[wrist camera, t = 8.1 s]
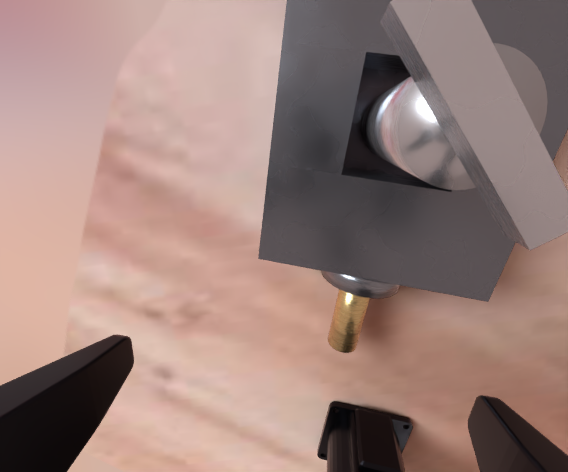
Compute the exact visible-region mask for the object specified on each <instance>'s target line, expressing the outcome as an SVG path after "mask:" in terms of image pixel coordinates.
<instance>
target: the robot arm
mask: <svg viewBox="0 0 568 472" xmlns="http://www.w3.org/2000/svg"><path fill="white" fill-rule="evenodd" d="M133 364H134V356H133V349H132V342H131V339H130V337H128V336H123V335H112V336H110V337H108V338H106V339H103V340H101V341H99V342H97V343H94V344H92V345H90V346H88V347H86V348H83V349H81V350H79V351H77V352H74V353H72V354H70V355H68V356H65V357H63V358H61V359H59V360H57V361H55V362H52V363H50V364H48V365H45V366H43V367H41V368H39V369H36V370H34V371H32V372H30V373H27V374H25V375H23V376H21V377H18V378H16V379H14V380H12V381H10V382H7V383H5V384H3V385H1V386H0V472H67V471H68V469H69V468H70V466H71V465H72V464H73V462H74V461H75V459H76V458H77V456H78V455H79V454H80V452H81V451H82V449H83V448H84V446H85V445H86V444H87V442H88V441H89V439H90V438H91V436H92V435H93V433H94V432H95V430H96V429H97V427H98V426H99V424H100V423H101V421H102V420H103V418H104V416H105V415H106V413H107V411H108V409H109V408H110V406H111V404H112V402H113V401H114V399H115V397H116V396H117V394H118V392H119V390H120V389H121V387H122V385H123V383H124V382H125V380H126V378H127V376H128V375H129V373H130V371H131V369H132V367H133ZM335 408H336V409H335ZM412 428H413V426H412V422H411V420H410V419H408V418H405V417H401V416H396V415H392V414H388V413H383V412H379V411H374V410H370V409H366V408H361V407H357V406H352V405H348V404H344V403H339V402H332V403H330V405H329V409H328V412H327V416H326V420H325V424H324V427H323V431H322V435H321V439H320V443H319V446H318V457H319V458H320V459H324V460H327V472H405V468H404V464H403V459H402V455H401V454H402V452H403V449H404V447H405V445H406V442H407V440H408V438H409V435H410V433H411V431H412ZM468 429H469V433H470V437H471V441H472V444H473V448H474V451H475V455H476V458H477V462H478V466H479V469H480V472H568V455H566V454H565V453H564V452H563V451H562V450H560V449H559V448H558V447H557V446H556V445H554V444H553V443H552V442H551V441H550V440H548V439H547V438H546V437H545V436H544V435H542V434H541V433H540V432H539V431H538V430H536V429H535V428H534V427H533V426H532V425H530V424H529V423H528V422H527V421H526V420H524V419H523V418H522V417H521V416H520V415H518V414H517V413H516V412H515V411H514V410H512V409H511V408H510V407H509V406H508V405H506V404H505V403H504V402H503V401H501V400H500V399H498V398H495V397H489V396H483V395H480V396H478V397H477V398H476V400H475V403H474V406H473V408H472V411H471V414H470V416H469V419H468Z"/></svg>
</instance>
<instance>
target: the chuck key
mask: <svg viewBox="0 0 568 472" xmlns="http://www.w3.org/2000/svg"><path fill="white" fill-rule="evenodd" d="M380 23H381V25H382V27H383V28H384V30H385V32H386V34H387V35H388V37H389V39H390V40H391V42H392V44H393V46H394V47H395V49H396V51H397V53H398V54H399V56H400V58H401V59H402V61H403V63H404V65H405V66H406V68H407V70H408V72H409V73H410V75H411V76H410V77H409V78H407V79H405V80H404V81H402V82H401V83H399V84H397V85H396V86H394V87H393V88H391V89H389V90H388V91H386V92H385V93H383V94H381V95H380V96H378V97H377V98H376V99H375V100H374V101H373V102H372V103H371V104H370V105H369V107H368V108H367V110H366V112H365V114H364V116H363V120H362V126H361V131H362V137H363V140H364V143H365V145H366V146H367V148H368V149H369V150H370V151H371V152H372V153H373V154H375V155H377V156H378V157H380V158H382V159H384V160H386V161H388V162H390V163H391V164H393V165H395V166H397V167H399V168H401V169H403V170H404V171H406V172H408V173H410V174H412V175H414V176H416V177H417V178H419V179H421V180H423V181H425V182H427V183H428V184H430V185H433V186H436V187H439V188H443V189H449V190H465V189H472V188H476V189H477V191H478V192H479V194H480V196H481V198H482V199H483V201H484V203H485V204H486V206H487V208H488V210H489V211H490V213H491V215H492V217H493V218H494V220H495V222H496V223H497V225H498V227H499V229H500V230H501V232H502V234H503V235H505V236H507V237H508V238H510V239H512V240H513V241H515V242H517V243H518V244H520V245H522V246H523V247H525V248H527V249H528V250H532V249H534V248H536V247H538V246H540V245H542V244H544V243H546V242H549V241H551V240H553V239H555V238H557V237H559V236H561V235H563V234H565V233H567V232H568V191H567V189H566V187H565V185H564V183H563V181H562V179H561V177H560V175H559V173H558V171H557V169H556V167H555V165H554V163H553V161H552V159H551V157H550V155H549V153H548V151H547V149H546V147H545V145H544V143H543V142H542V140H541V138H540V136H539V135H540V133H541V130H542V128H543V125H544V122H545V117H546V113H547V103H548V102H547V90H546V85H545V82H544V79H543V77H542V74H541V72H540V71H539V69H538V67H537V66H536V65H535V63H534V62H533V61H532V60H531V59H530V58H529V57H528V56H526V55H525V54H524V53H522V52H521V51H519V50H517V49H515V48H513V47H510V46H507V45H503V44H498V43H493V42H492V40H491V38H490V36H489V34H488V32H487V30H486V28H485V26H484V24H483V22H482V20H481V18H480V16H479V14H478V12H477V10H476V9H475V7H474V5H473V3H472V1H471V0H392V1H391V2H390V3H389V5H388V7H387V9H386V11H385V13H384V15H383V17H382V19H381V21H380Z"/></svg>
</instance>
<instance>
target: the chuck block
mask: <svg viewBox="0 0 568 472" xmlns="http://www.w3.org/2000/svg"><path fill="white" fill-rule="evenodd" d="M391 1H392V0H287V5H286V14H285V23H284V32H283V41H282V50H281V59H280V68H279V77H278V86H277V95H276V104H275V113H274V122H273V131H272V140H271V149H270V158H269V167H268V176H267V185H266V194H265V204H264V213H263V222H262V231H261V240H260V249H259V258H258V259H263V260H268V261H273V262H279V263H284V264H289V265H295V266H300V267H305V268H311V269H316V270H321V272H322V275H323V277H324V278H325V279H326V280H327V281H328V282H329V283H330V284H332V285H333V286H335V287H336V288H338V289H339V293H338V298H337V302H336V306H335V311H334V315H333V319H332V323H331V328H330V332H329V336H328V342H329V344H330V345H331V346H332V347H333V348H334V349H335V350H337V351H340V352H344V353H349V352H352V351H354V350H355V349H356V346H357V342H358V338H359V335H360V331H361V328H362V324H363V321H364V317H365V314H366V310H367V307H368V303H369V300H370V298H375V299H380V298H387V297H391V296H393V295H395V294H396V293H397V291H398V289H399V286H400V285H401V286H407V287H412V288H417V289H423V290H428V291H433V292H439V293H444V294H449V295H455V296H460V297H465V298H471V299H476V300H481V301H487V302H488V301H489V299H490V297H491V294H492V292H493V290H494V288H495V286H496V284H497V281H498V279H499V277H500V275H501V273H502V270H503V268H504V266H505V264H506V262H507V260H508V257H509V255H510V253H511V251H512V249H513V247H514V244H515V241H513V240H512V239H510V238H508V237H507V236H505V235H503V234H502V232H501V230H500V229H499V227H498V225H497V223H496V222H495V220H494V218H493V217H492V215H491V213H490V211H489V210H488V208H487V206H486V204H485V203H484V201H483V199H482V198H481V196H480V194H479V192H478V191H477V189H476V188H472V189H465V190H449V189H443V188H439V187H436V186H433V185H430V184H428V183H427V182H425V181H423V180H421V179H419V178H417V177H416V176H414V175H412V174H410V173H408V172H406V171H404V170H403V169H401V168H399V167H397V166H395V165H393V164H391V163H390V162H388V161H386V160H384V159H382V158H380V157H378V156H377V155H375V154H373V153H372V152H371V151H370V150H369V149H368V148H367V146H366V145H365V143H364V140H363V137H362V131H361V126H362V120H363V116H364V114H365V112H366V110H367V108H368V107H369V105H370V104H371V103H372V102H373V101H374V100H375V99H376V98H377V97H378V96H380V95H381V94H383V93H385V92H386V91H388V90H389V89H391V88H393V87H394V86H396V85H397V84H399V83H401V82H402V81H404V80H405V79H407V78H409V77H410V76H411V75H410V73H409V72H408V70H407V68H406V66H405V65H404V63H403V61H402V59H401V58H400V56H399V54H398V53H397V51H396V49H395V47H394V46H393V44H392V42H391V40H390V39H389V37H388V35H387V34H386V32H385V30H384V28H383V27H382V25H381V23H380V21H381V19H382V17H383V15H384V13H385V11H386V9H387V7H388V5H389V3H390V2H391ZM471 1H472V3H473V5H474V7H475V9H476V10H477V12H478V14H479V16H480V18H481V20H482V22H483V24H484V26H485V28H486V30H487V32H488V34H489V36H490V38H491V40H492V42H493V43H498V44H503V45H507V46H510V47H513V48H515V49H517V50H519V51H521V52H522V53H524V54H525V55H526V56H528V57H529V58H530V59H531V60H532V61H533V62H534V63H535V65H536V66H537V67H538V69H539V71H540V72H541V74H542V77H543V79H544V82H545V85H546V90H547V102H548V103H547V113H546V117H545V122H544V125H543V128H542V130H541V133H540V135H539V136H540V138H541V140H542V142H543V143H544V145H545V147H546V149H547V151H548V153H549V155H550V157H551V159H552V161H553V160H554V158H555V155H556V153H557V151H558V149H559V147H560V144H561V142H562V140H563V138H564V136H565V134H566V131H567V129H568V0H471Z"/></svg>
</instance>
